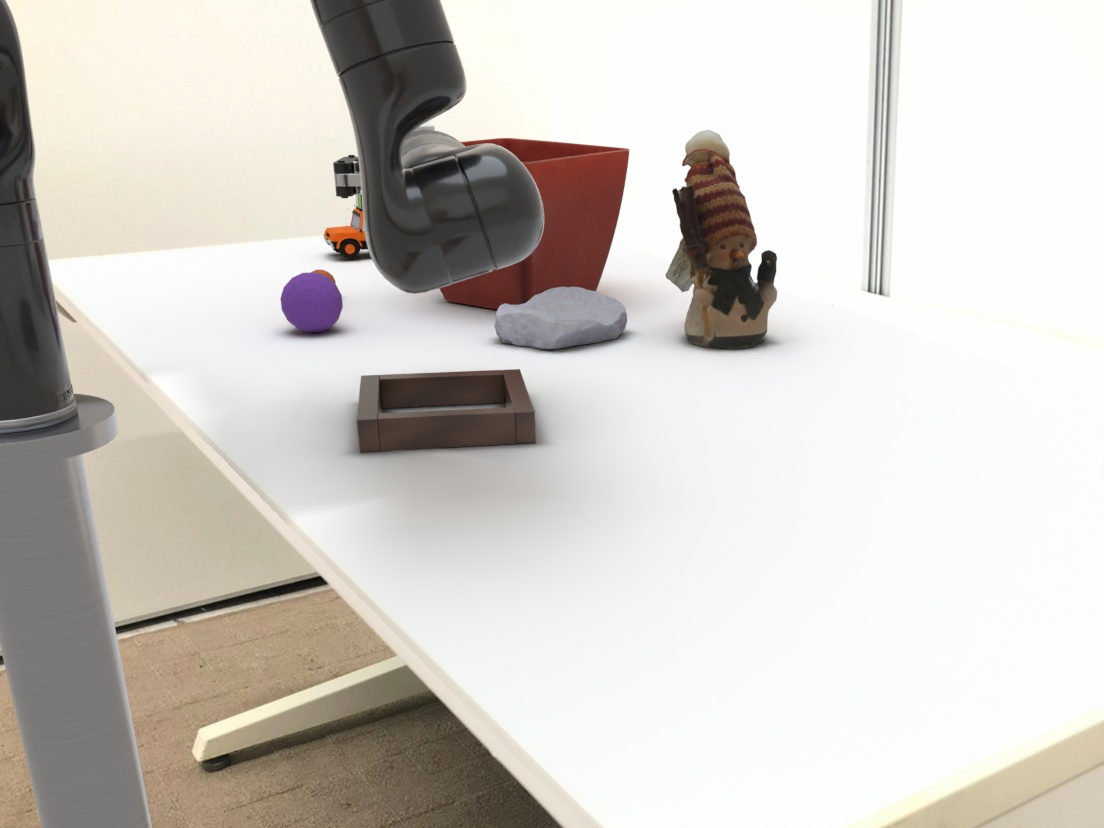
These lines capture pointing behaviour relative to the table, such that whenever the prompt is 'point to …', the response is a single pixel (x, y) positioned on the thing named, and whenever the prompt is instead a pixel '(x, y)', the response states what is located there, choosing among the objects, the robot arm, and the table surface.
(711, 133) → the figurine
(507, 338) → the stone block
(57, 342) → the robot arm
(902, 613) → the table surface
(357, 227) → the toy car
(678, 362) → the table surface
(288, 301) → the purple maraca
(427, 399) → the brown wooden square frame
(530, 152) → the flower pot
